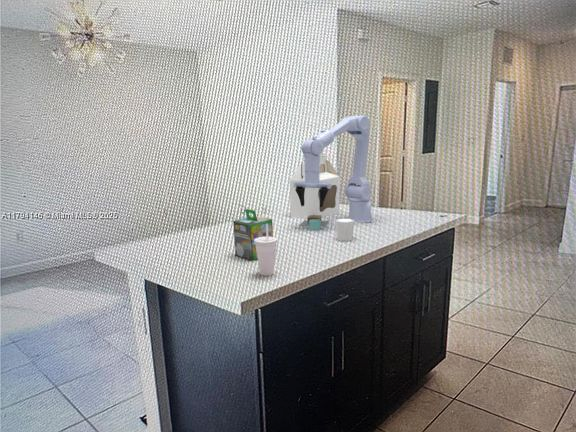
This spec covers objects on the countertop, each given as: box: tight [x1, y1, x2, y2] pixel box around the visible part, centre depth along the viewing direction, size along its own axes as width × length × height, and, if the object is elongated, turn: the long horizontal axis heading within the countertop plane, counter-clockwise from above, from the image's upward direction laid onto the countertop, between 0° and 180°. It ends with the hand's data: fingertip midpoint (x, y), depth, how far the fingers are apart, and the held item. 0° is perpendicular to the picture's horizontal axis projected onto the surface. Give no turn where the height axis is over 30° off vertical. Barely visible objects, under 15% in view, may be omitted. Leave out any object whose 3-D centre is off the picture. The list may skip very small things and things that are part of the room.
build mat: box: [298, 219, 330, 228], centre depth 170 cm, size 11×11×1 cm
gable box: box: [289, 153, 340, 220], centre depth 186 cm, size 22×13×28 cm, turn 144°
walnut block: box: [306, 215, 322, 225], centre depth 170 cm, size 5×5×3 cm
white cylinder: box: [334, 218, 355, 242], centre depth 145 cm, size 7×7×7 cm
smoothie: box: [254, 224, 278, 277], centre depth 110 cm, size 6×6×14 cm
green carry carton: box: [232, 208, 274, 262], centre depth 128 cm, size 9×9×15 cm
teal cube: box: [308, 219, 322, 231], centre depth 160 cm, size 4×4×4 cm
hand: (312, 206), depth 159 cm, fingers open, 7 cm apart
